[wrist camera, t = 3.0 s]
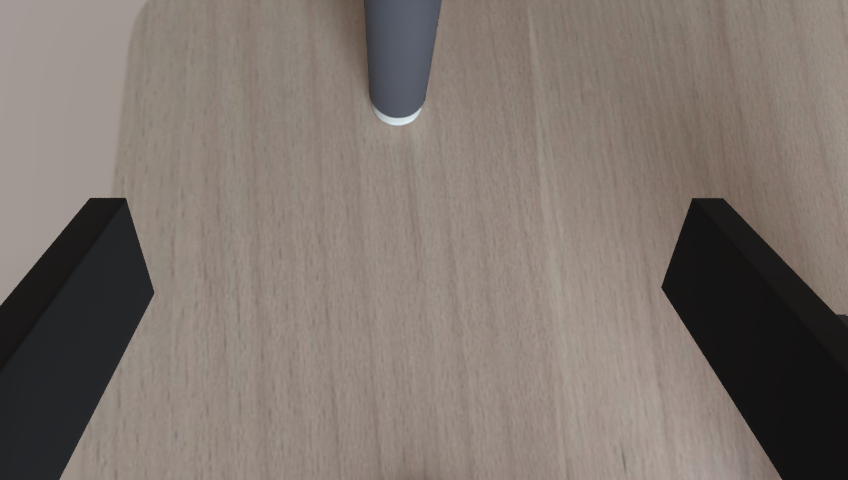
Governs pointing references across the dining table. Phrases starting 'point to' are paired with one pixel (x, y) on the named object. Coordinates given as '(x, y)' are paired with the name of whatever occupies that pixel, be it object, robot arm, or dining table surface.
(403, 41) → the grey cylinder
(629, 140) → the dining table surface
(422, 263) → the dining table surface
